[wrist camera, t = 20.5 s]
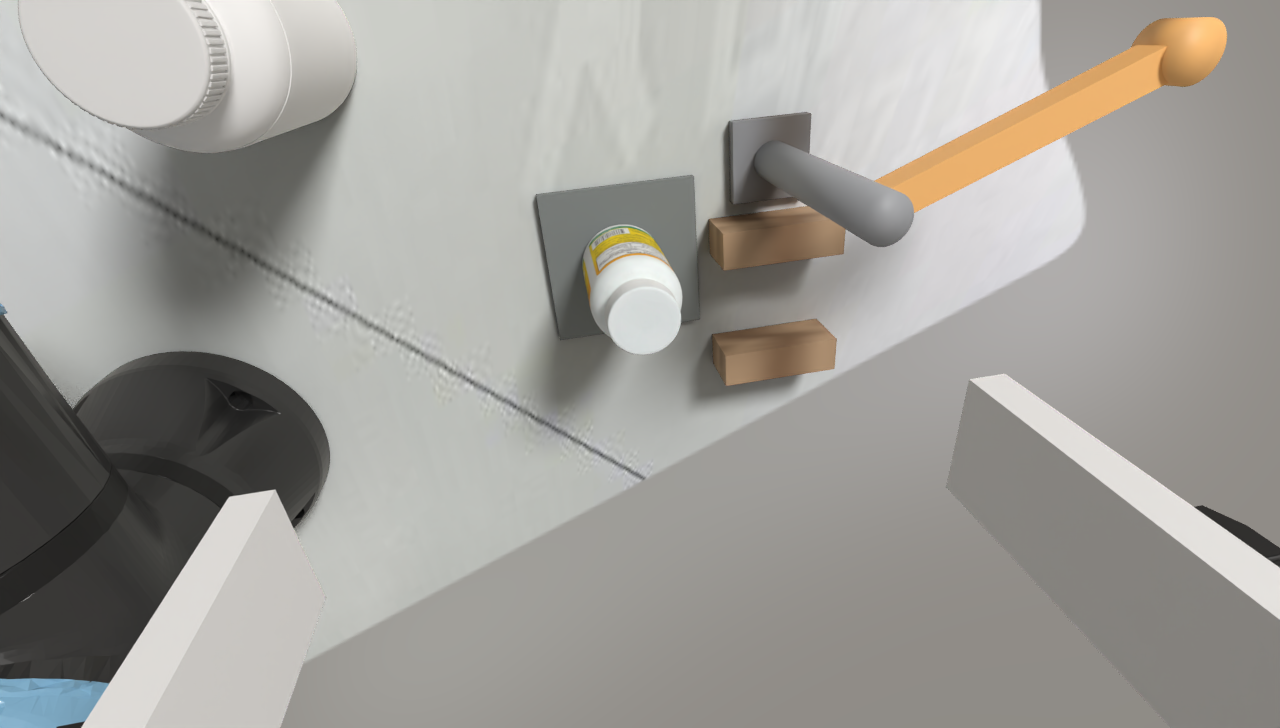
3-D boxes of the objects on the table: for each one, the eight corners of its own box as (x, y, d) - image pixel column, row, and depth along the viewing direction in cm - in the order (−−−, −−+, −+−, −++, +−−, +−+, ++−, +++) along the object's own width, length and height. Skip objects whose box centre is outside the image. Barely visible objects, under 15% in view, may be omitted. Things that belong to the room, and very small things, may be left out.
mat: (559, 336, 43) (560, 339, 43) (536, 194, 38) (536, 196, 38) (698, 316, 44) (699, 319, 44) (692, 175, 39) (693, 176, 39)
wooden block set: (713, 362, 46) (726, 386, 43) (705, 123, 38) (721, 131, 35) (814, 347, 47) (834, 368, 44) (828, 109, 39) (854, 115, 36)
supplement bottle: (601, 209, 39) (621, 257, 30) (674, 241, 41) (712, 295, 32) (568, 283, 41) (578, 347, 32) (639, 311, 43) (666, 378, 34)
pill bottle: (344, -44, 31) (212, -101, 18) (372, 123, 35) (279, 176, 22) (172, -53, 30) (-101, -120, 17) (220, 122, 34) (27, 177, 21)
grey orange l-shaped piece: (1010, 57, 38) (1242, 69, 26) (762, 188, 39) (869, 258, 27) (1004, 14, 37) (1245, 4, 24) (748, 150, 38) (853, 206, 26)
